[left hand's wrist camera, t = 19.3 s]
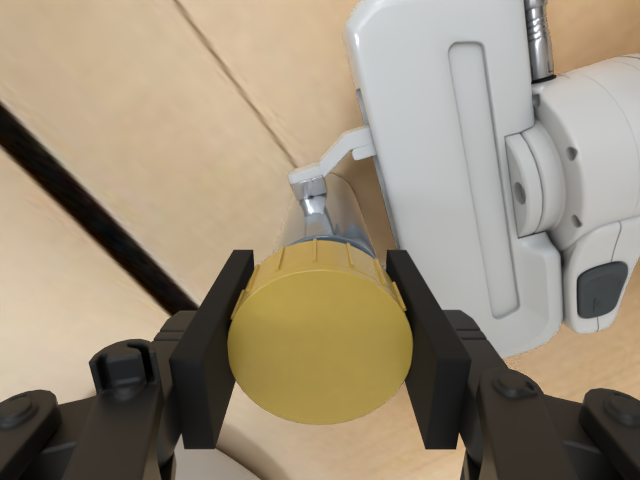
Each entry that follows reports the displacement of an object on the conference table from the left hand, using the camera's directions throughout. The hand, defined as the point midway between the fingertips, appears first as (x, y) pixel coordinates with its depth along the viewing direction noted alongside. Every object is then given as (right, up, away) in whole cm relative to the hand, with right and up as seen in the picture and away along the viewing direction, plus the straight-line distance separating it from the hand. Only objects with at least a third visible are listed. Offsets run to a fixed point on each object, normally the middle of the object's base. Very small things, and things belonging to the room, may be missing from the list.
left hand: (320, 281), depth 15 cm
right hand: (-1, +2, +6) cm, 6 cm away
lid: (0, -2, -4) cm, 4 cm away
